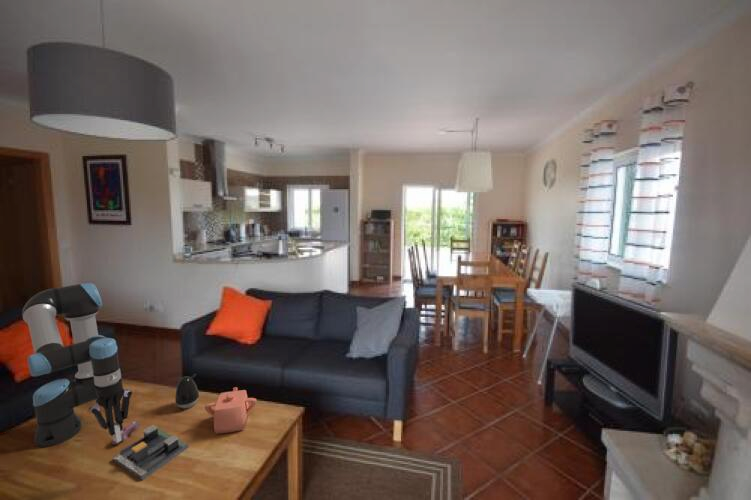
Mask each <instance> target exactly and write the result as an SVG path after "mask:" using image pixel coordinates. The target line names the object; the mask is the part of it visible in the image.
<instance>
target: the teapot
mask: <svg viewBox="0 0 751 500" xmlns="http://www.w3.org/2000/svg"><path fill="white" fill-rule="evenodd" d="M249 403H250V404H249ZM256 404H257V398H255V397H248V394H247V390H246V389H242V390H241V389H240V390H238V387H236V386H235V387H233V388H232V391H226V392H225V391H224V392H220V394H219V396H218V398H217V401H216V402H215V401H214V402H210V403H207V404H205V406H204V409H205V411H206V413H208V414H210V415H211V416H213V430H214V433H215V434H217V435H218V434H226V433H232V432H239V431H244V429H245V427H246V426H247V425H246V424H247V422H248V418H249V412H250V411H251V410H252V409H253V408H254V407H255V406H256ZM212 407H214V409H213V408H212Z"/></svg>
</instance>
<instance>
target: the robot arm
mask: <svg viewBox="0 0 751 500" xmlns="http://www.w3.org/2000/svg"><path fill="white" fill-rule="evenodd" d="M101 307H103V301H102V298H101V295H100V293H99V290H98V288H97V286H96V284H94V283H92V282H90V283H89V282H87V283H79V284H78V283H77V284H73V285H72V284H71V285H67V286H66V285H65V286H61V287H54V288H48V289H45V290H42V291H39V292H38V293H36V294H35V295H33V296H32V297H31V298H30V299H28V301H27V302H26V303H25V305H24V306H23V308H22V313H21V314H22V319H23V321H24V322H25V323H26V324H27V325H28V330H29V335H30V339H31V343H32V348H33V354H30V355H29V356H28V357H27V363H28V368H29V373H30V376H32V377H34V378H35V377H39V376H43V375H49V374H51V373H54V372H58V371H60V370H65V369H68V368H71V367H74V366H77V370H78V371H76V373H75V375H74V378H75V379H72V380H69V379H67V378H61V379H60V378H58V379H56V380H53V381H50V382H47V383H45V384H43V385H42V386H41V387H39V388H38V389H36V390H35V391H34V393H33V395H32V401H33V402H32V406H33V407H34V411H35V417H36V418H35V419H36V423H37V427H36V430H35V434H34V439H33V440H34V444H35V446H37V447H39V448H45V447H46V448H47V447H51V446H56V445H58V444H62V443H64V442H65V441H68V440H69V439H71V438H73V437H75V436H76V435H77V434H78V433H80V431H81V430H82V428H83V424H82V420H81V419H80V417H78V415H77V414H76V412H75V409H74V408H76V407H79V406H82V405H84V404H85V405H86V404H88V403H90V402H93V401H95V404H94V405H93V406H91V407H89V408H88V411H89V412H91V413H92V414H93V415H94V417H95V418H96V420H97V422H98V423H99V425H100V428H102V429H104V430H108V434H109V435H110V436H112V440H113V441H115V442H117V443H118V442H119V441H120V442H122V441H121V440H122V439H121V431H122V430H123V429H124V428H123V427H124V426H123V423H124V420H126V419H127V418H128V417H129V406H130V399H131V396H132V394H133V391H131V390H129V389H127V390H125V389H124V388H123V386H124V385H123V380H122V373H121V367H120V361H119V354H118V347H119V346H118V345H117V340H115V339H114V338H111V337H106V336H104V335H101V334H99V332H98V325H97V320H96V315H97V314H98V313H99V311H100V310H99V308H101ZM61 315H63V316H64V319H66V320H68V321H69V322H70V329H71V334H72V341H73V344H69V345H65V346H64V343H63V340H62V337H61V334H60V330H59V327H58V324H57V321H56V316H61ZM121 400H122V402H121ZM100 407H102V408H103V409H104V414H105V418H104V416H103V414H102V412H101V411H100ZM120 442H119V443H120ZM119 443H118V444H119Z"/></svg>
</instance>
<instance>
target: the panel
mask: <svg viewBox="0 0 751 500" xmlns="http://www.w3.org/2000/svg"><path fill="white" fill-rule="evenodd" d="M141 442H144V443H146V444H147V449H148V455H147V456H145V457H144V458H142V459H141V460H139V461H138V462H137V461H135V460H134V459H133V456H132V449H131V448H133V447H134V446H136V445H138V444H139V443H141ZM188 448H189V443H187V442H185V441H183V440H181V439H180V438H179V437H177V436H175V435H174V434H173V435H172V434H169V433H168V432H167V431H164V430H163V429H158V426H157V425H155V424H151V425H149V426H148V427H146V428H145V429H143V437H142V438H140V439H138V440H137V441H135V442H133V443H132V444H130V445H128V446H126V447H125V448H123V449H121V450H120V451H119V453H118V454H116V455H114V456H113V457H112V460H113V462H114V463H116V464H118V465H119V466H120V467H122V468H123V469H125V470H126V471H128V472H130V473H131V474H133V476H135V477H136V478H138V479H140V480H142V481H143V480H145V479H146V478H147V477H149V476H151V475H152V474H154V472H156V471H157V470H159V469H160V468H162V467H164V465H166V464H168V463H169V462H170V461H171V460H173V459H175V458H176V457H177V456H180V454H182V453H183V452H185V451H186V450H187V449H188Z"/></svg>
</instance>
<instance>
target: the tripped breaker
mask: <svg viewBox="0 0 751 500" xmlns="http://www.w3.org/2000/svg"><path fill="white" fill-rule="evenodd" d="M131 449H132V456H133V459H134V460H135V461H137V462H138V461H139V460H141V459H142V458H144V457H145V456H147V455H148V449H147V444H146V443H144V442H141V443H139V444H138V445H136V446H134V447H133V448H131Z"/></svg>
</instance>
